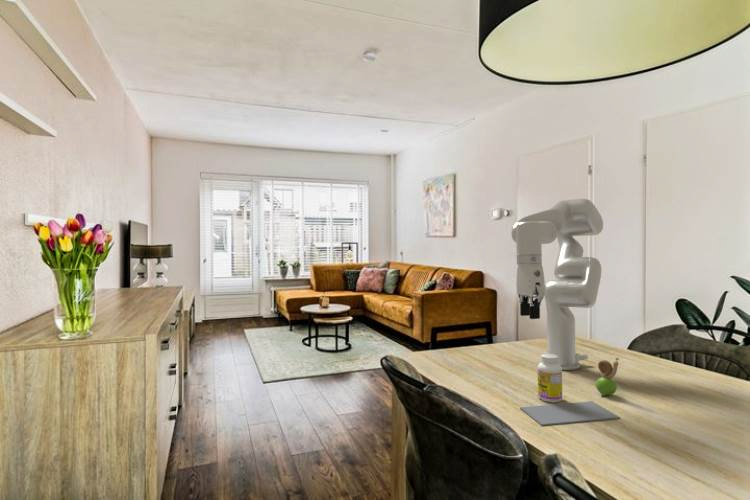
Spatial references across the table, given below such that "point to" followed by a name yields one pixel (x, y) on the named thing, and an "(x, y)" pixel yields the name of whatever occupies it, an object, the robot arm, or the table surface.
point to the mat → (568, 413)
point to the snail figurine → (607, 377)
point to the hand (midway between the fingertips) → (529, 316)
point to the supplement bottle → (549, 379)
